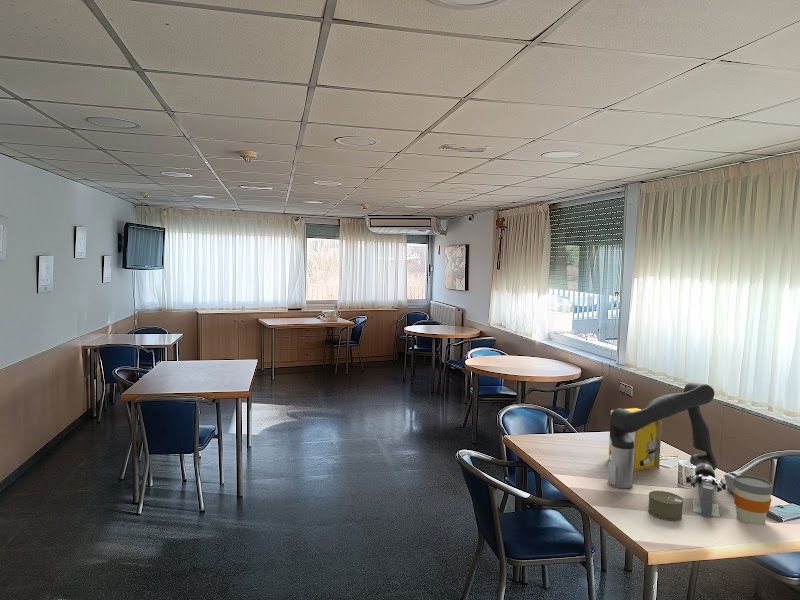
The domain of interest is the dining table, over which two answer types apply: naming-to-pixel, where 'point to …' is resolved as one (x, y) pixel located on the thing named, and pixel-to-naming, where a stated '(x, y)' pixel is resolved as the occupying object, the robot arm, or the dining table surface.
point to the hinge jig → (706, 502)
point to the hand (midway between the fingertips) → (706, 487)
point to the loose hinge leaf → (705, 480)
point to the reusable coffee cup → (752, 498)
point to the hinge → (730, 480)
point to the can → (665, 505)
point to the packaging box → (645, 445)
